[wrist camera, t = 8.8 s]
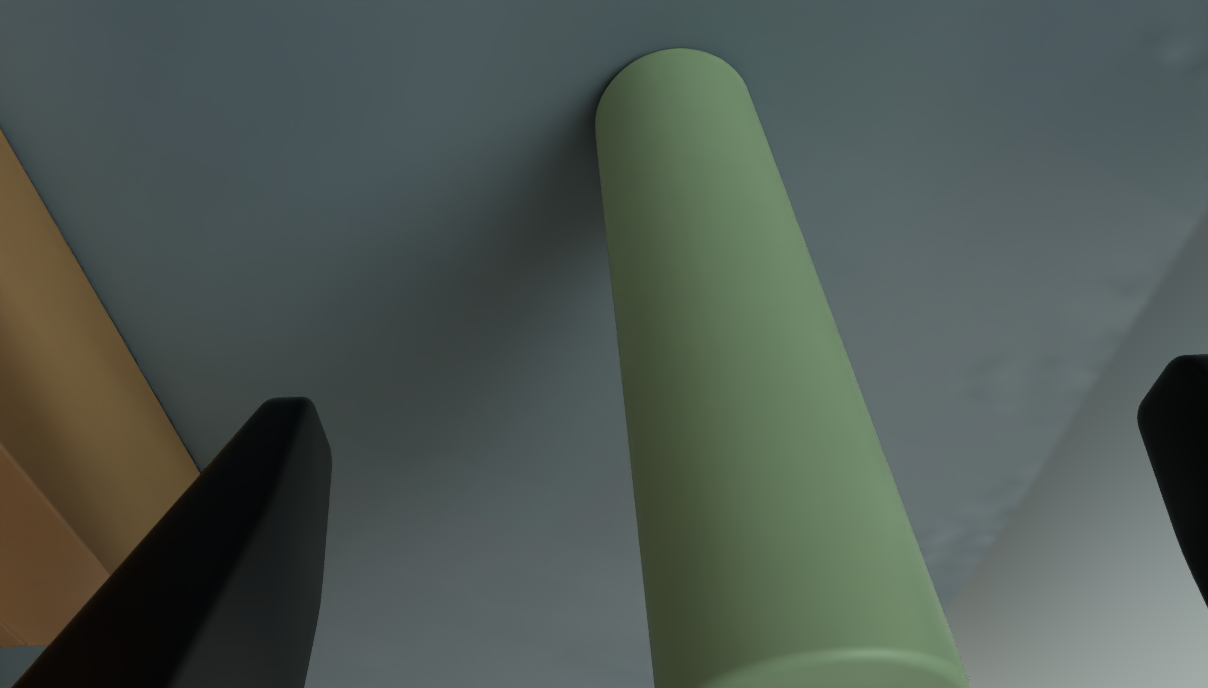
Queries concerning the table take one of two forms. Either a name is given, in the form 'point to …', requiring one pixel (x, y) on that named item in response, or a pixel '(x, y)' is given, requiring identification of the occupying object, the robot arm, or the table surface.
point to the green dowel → (747, 412)
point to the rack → (67, 428)
